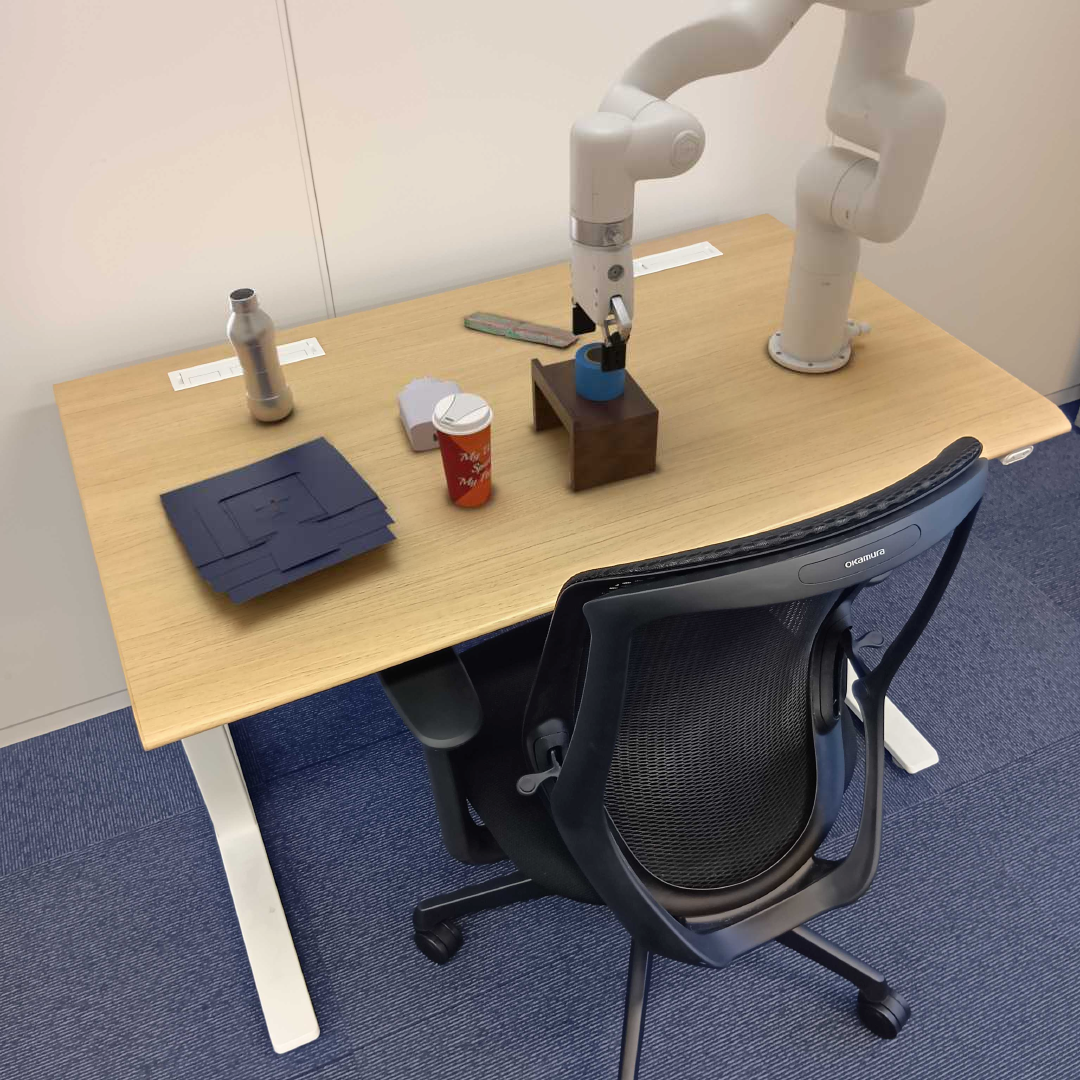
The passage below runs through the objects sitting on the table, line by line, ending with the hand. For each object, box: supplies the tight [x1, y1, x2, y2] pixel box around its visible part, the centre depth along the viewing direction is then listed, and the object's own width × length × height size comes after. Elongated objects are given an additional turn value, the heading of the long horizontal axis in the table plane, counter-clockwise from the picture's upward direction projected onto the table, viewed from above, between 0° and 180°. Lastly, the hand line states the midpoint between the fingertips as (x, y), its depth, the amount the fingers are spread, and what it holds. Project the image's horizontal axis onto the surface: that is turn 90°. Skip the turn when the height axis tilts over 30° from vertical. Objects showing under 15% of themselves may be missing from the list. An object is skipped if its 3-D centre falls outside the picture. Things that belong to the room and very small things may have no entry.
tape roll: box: [574, 341, 626, 401], centre depth 130 cm, size 7×7×5 cm
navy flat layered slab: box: [159, 436, 398, 606], centre depth 127 cm, size 24×30×4 cm
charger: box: [396, 374, 464, 452], centre depth 144 cm, size 5×9×15 cm
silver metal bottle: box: [226, 287, 294, 423], centre depth 141 cm, size 6×7×20 cm
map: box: [463, 311, 580, 348], centre depth 162 cm, size 5×20×1 cm, turn 64°
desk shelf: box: [530, 357, 660, 493], centre depth 135 cm, size 12×16×12 cm
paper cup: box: [432, 393, 494, 508], centre depth 127 cm, size 8×8×14 cm
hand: (598, 350), depth 128 cm, fingers open, 9 cm apart
